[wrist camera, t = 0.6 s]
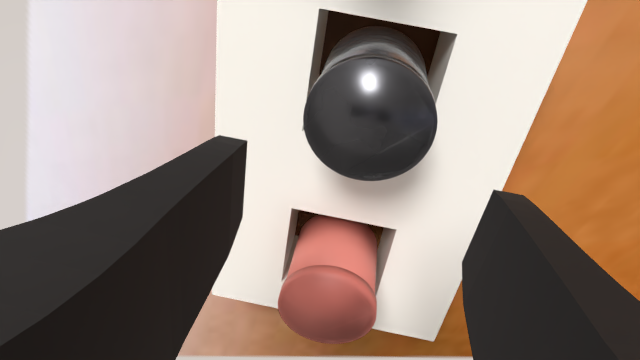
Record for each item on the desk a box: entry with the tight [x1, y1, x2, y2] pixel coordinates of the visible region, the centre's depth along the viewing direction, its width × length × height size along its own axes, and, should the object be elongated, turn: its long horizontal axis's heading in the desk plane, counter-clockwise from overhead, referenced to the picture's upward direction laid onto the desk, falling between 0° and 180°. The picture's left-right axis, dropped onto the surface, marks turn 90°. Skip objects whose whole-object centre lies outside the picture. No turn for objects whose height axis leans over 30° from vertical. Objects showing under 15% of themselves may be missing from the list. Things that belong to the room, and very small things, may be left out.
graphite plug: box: [303, 26, 438, 181], centre depth 15 cm, size 4×4×4 cm
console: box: [212, 0, 587, 342], centre depth 19 cm, size 11×16×4 cm
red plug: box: [278, 214, 377, 344], centre depth 19 cm, size 4×4×4 cm
